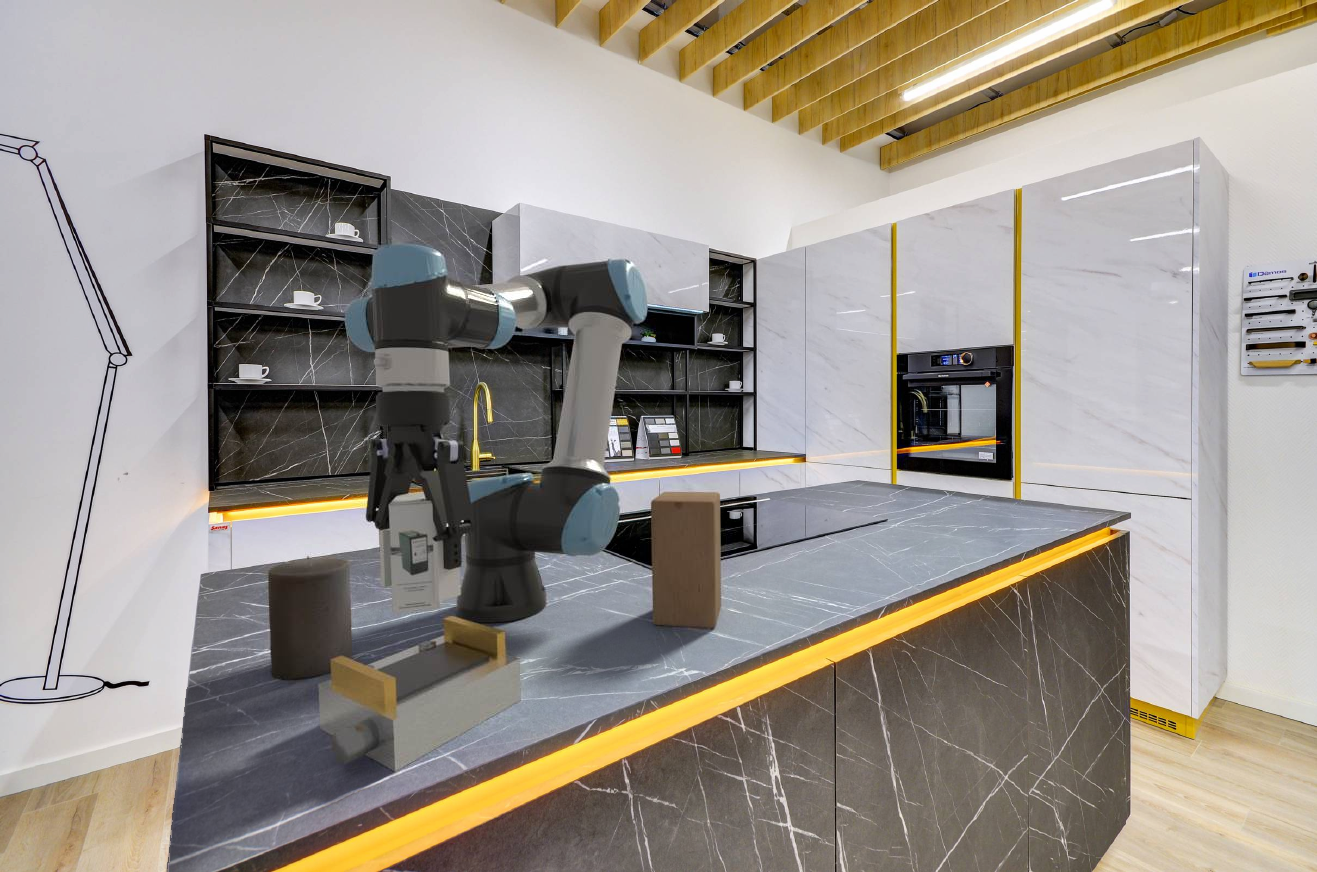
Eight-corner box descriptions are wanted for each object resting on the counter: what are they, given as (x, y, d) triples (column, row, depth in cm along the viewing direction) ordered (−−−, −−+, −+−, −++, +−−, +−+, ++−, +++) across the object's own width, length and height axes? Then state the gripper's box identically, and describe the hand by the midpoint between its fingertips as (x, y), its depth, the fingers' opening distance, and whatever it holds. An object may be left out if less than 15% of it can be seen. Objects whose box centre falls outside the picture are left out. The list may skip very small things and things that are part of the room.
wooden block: (715, 629, 89) (713, 501, 88) (652, 625, 91) (650, 500, 90) (721, 607, 99) (720, 491, 98) (664, 604, 101) (662, 491, 100)
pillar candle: (263, 686, 73) (259, 568, 72) (278, 656, 82) (275, 551, 81) (350, 672, 77) (347, 560, 76) (356, 644, 86) (353, 545, 85)
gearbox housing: (290, 742, 60) (286, 667, 60) (446, 671, 76) (444, 612, 76) (364, 789, 52) (360, 703, 52) (520, 699, 68) (519, 633, 68)
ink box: (399, 591, 68) (396, 491, 68) (444, 586, 70) (441, 489, 69) (390, 615, 60) (386, 502, 59) (441, 609, 61) (438, 499, 61)
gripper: (327, 392, 67) (334, 584, 68) (447, 385, 55) (454, 618, 55) (388, 394, 73) (394, 569, 74) (507, 387, 61) (513, 597, 62)
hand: (419, 590), depth 65 cm, fingers closed on ink box, 9 cm apart
